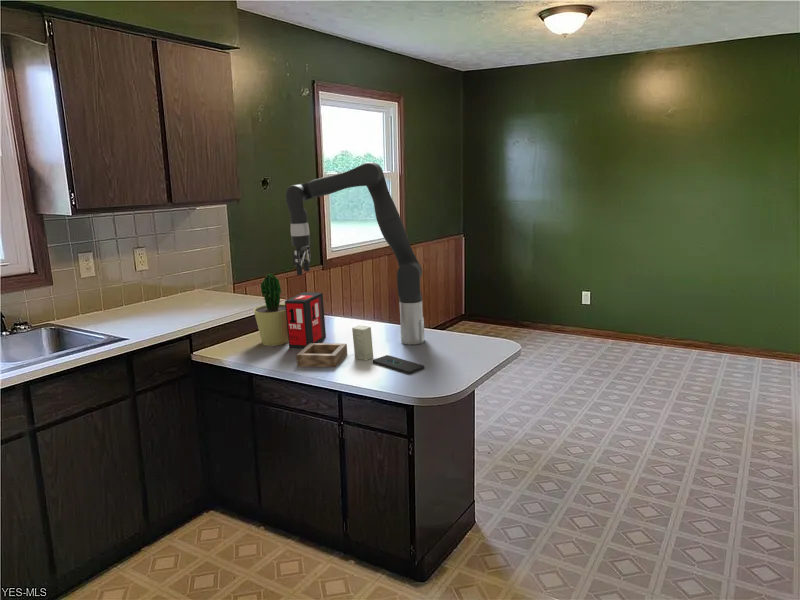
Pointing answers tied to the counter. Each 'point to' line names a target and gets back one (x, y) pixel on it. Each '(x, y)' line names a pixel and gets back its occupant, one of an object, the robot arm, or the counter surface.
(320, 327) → the cleaning product box
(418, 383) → the counter surface
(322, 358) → the block
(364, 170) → the robot arm
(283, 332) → the potted cactus
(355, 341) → the skincare box
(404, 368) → the smart home device
